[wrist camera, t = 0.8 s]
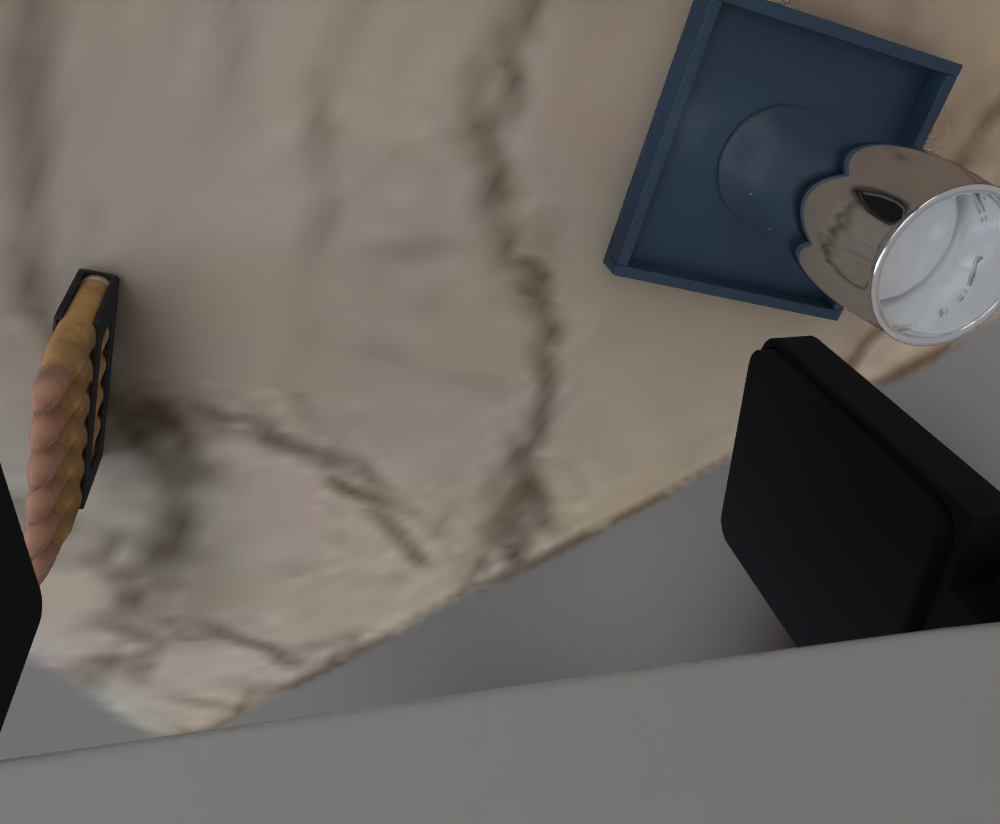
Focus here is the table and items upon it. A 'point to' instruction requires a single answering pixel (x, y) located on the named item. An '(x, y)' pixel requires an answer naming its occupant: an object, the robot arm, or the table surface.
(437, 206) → the table surface
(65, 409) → the ammunition clip
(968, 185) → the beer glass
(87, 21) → the table surface
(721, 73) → the tray
